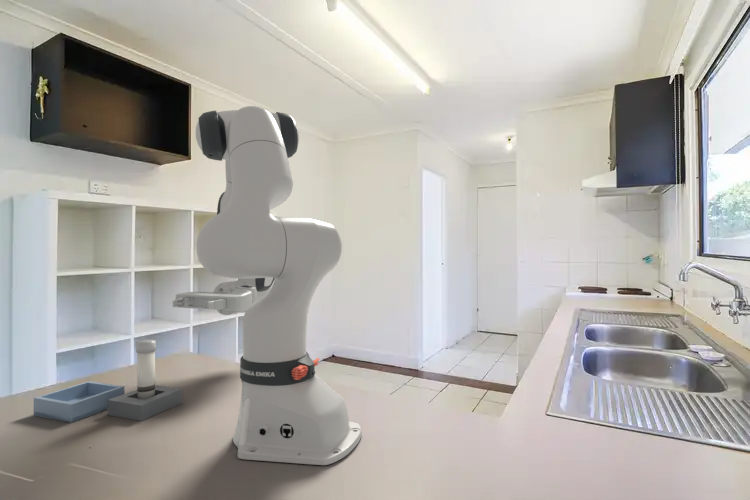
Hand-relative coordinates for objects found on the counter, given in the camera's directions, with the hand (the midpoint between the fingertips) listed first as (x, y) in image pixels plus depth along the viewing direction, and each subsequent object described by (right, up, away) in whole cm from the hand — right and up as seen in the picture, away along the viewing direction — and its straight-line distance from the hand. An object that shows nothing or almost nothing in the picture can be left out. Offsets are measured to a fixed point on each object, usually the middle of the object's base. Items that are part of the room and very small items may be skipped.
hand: (190, 304), depth 95 cm
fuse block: (-4, -20, -11) cm, 23 cm away
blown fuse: (-4, -20, -11) cm, 23 cm away
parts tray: (-18, -20, -11) cm, 29 cm away
